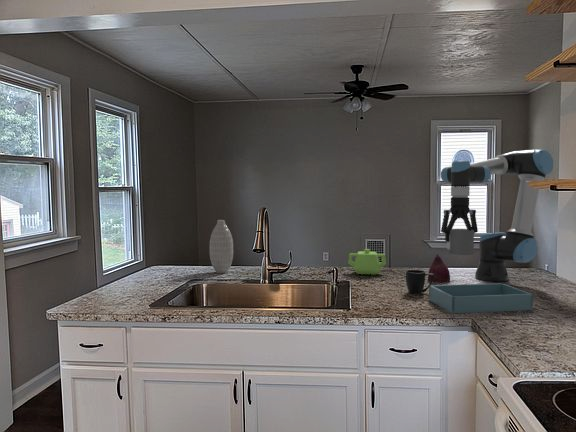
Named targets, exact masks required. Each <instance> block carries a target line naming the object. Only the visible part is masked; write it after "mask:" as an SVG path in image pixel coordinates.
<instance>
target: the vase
mask: <svg viewBox="0 0 576 432" xmlns="http://www.w3.org/2000/svg"><path fill="white" fill-rule="evenodd" d="M216 221H217V222H216V224H215V226H214V228H213V230H212V232H211V234H210V239H209V249H208V250H209V259H210V262H211V267H212V268H213V270H214V271H215V273H217V274H227V273H228V271H229V270H230V268H231V266H232V262H233V260H234V239H233V236H232V233H231V231H230V229H229V227H228V226H227V224H226V221H225V220H224V219H218V220H216Z"/></svg>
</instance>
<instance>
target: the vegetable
mask: <svg viewBox="0 0 576 432" xmlns="http://www.w3.org/2000/svg"><path fill="white" fill-rule="evenodd" d="M428 269H429V270H428V273H427V274H434V281H433V282H432V283H438V284H439V283H441V284H443V283H450V282H451V273H450V270H449V268H448V266H447V264H446V263H445V262H444V260H443V258H442V257H441V256H440V255H439V254H437V253H436V255H435V256H434V259H433V261H432V262H431V265H430V267H429V268H428ZM432 278H433V276H432V275H427V281H429V282H431V281H432Z"/></svg>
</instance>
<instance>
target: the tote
mask: <svg viewBox="0 0 576 432" xmlns="http://www.w3.org/2000/svg"><path fill="white" fill-rule="evenodd" d="M428 294H429V295H428V300H429V301H430V302H431V303H433V304H435V305H437V306H438V307H440V308H442V309H444V310H445V309H446V311H447V312H449V313H451V314H465V313H466V314H467V313H470V314H471V313H493V312H517V311H519V312H520V311H521V312H522V311H533V309H534V306H533V305H534V294H533V293H530V292H527V291H524V290H522V289H519V288H516V287H514V286H511V285H508V284H506V283H503V282H502V283H501V282H500V283H498V282H497V283H467V284H464V283H463V284H438V285H437V284H436V285H435V284H433V285H432V284H431V285H430V286H429V288H428Z"/></svg>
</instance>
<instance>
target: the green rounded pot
mask: <svg viewBox="0 0 576 432" xmlns="http://www.w3.org/2000/svg"><path fill="white" fill-rule="evenodd" d="M363 250H364V251H361V250H360V251H357V253H349V254H348V261H347V264H349V265H350V266H351V267H353V268H354V271H355V273H356V274H357V275H359V274H361V275H360V276H364V275H370V274H371V275H370V276H376V275H378V274H379V273H380V269H382V267H384V266H386V265H387V258H386V253H377V252H376V251H371V249H370V248H364V249H363ZM353 257H355V260H354V261H353ZM380 257H381V262H380V259H379V258H380ZM363 274H364V275H363Z"/></svg>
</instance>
